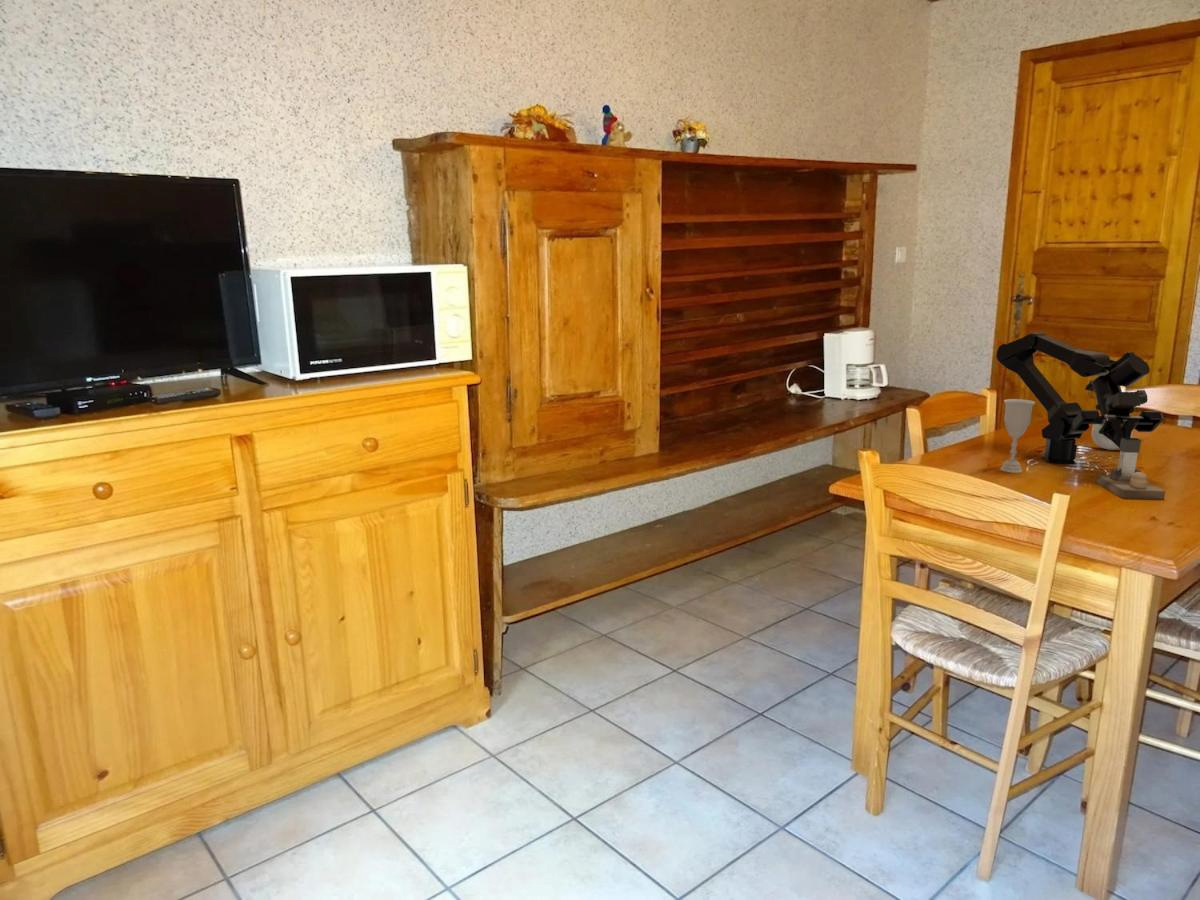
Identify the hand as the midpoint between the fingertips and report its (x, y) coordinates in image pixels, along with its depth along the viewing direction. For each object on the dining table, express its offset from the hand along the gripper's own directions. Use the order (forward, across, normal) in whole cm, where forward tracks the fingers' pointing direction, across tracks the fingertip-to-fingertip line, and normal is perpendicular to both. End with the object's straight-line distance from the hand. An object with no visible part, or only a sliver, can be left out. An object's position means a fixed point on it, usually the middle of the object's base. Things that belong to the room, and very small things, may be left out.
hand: (1126, 450), depth 200 cm
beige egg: (+10, 0, -1) cm, 10 cm away
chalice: (-2, -21, +15) cm, 26 cm away
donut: (-19, +14, +32) cm, 40 cm away
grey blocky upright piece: (+5, 0, +3) cm, 6 cm away
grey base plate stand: (+9, 0, +3) cm, 10 cm away
